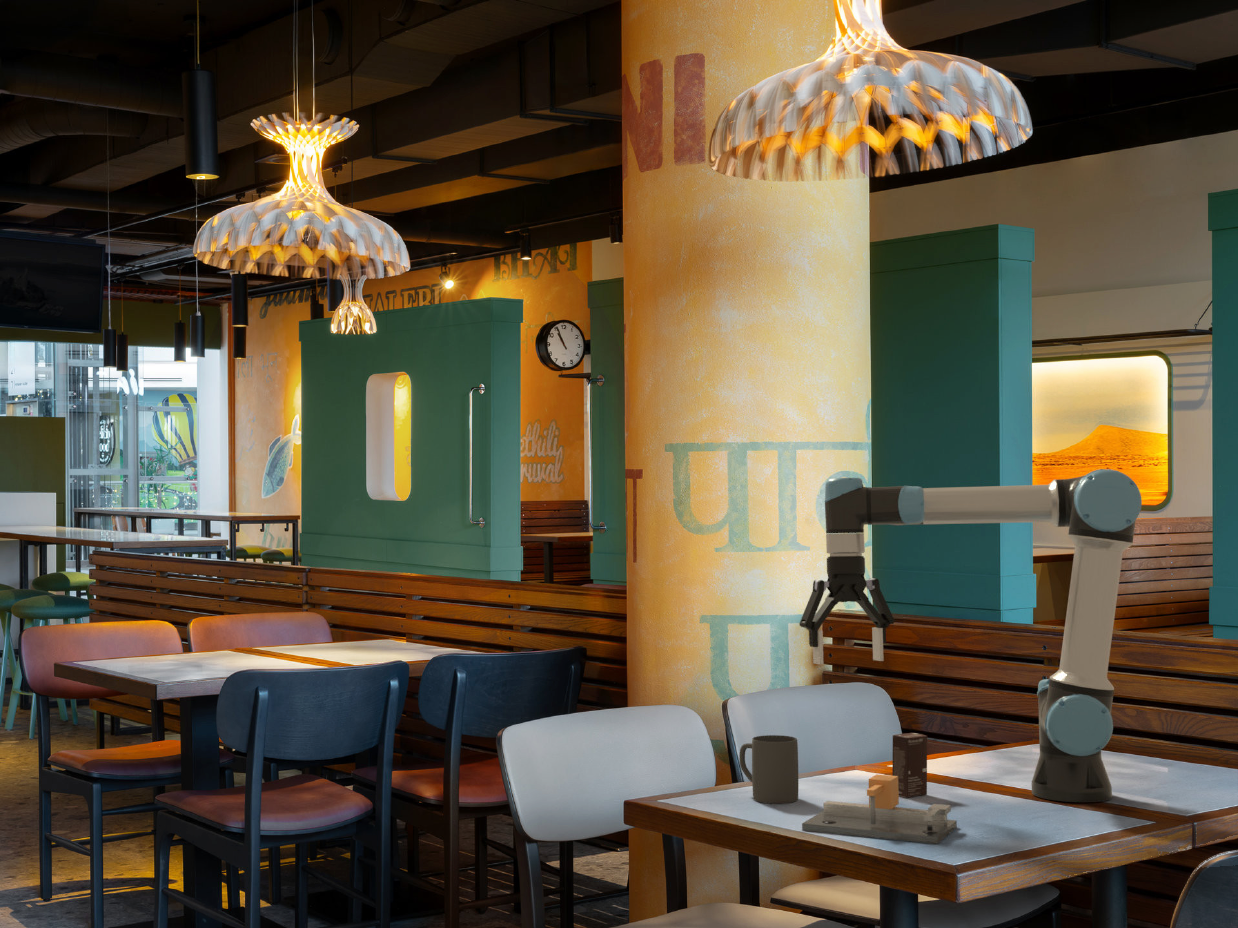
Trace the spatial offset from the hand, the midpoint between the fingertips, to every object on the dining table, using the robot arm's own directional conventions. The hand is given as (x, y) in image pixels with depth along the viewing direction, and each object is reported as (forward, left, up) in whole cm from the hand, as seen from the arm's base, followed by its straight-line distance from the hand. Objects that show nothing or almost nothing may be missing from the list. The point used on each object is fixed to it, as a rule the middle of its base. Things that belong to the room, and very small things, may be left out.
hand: (848, 662), depth 253 cm
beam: (-12, +22, -26) cm, 36 cm away
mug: (+16, +5, -27) cm, 32 cm away
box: (-9, -10, -27) cm, 31 cm away
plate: (-12, +22, -27) cm, 37 cm away
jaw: (-12, +22, -25) cm, 35 cm away
